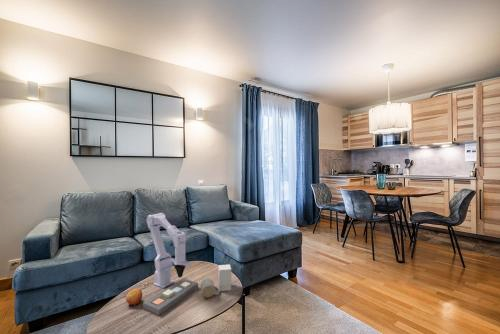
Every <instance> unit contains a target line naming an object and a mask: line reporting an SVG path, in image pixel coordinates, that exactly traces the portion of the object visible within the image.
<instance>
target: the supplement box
mask: <svg viewBox="0 0 500 334" xmlns="http://www.w3.org/2000/svg"><path fill="white" fill-rule="evenodd" d="M218 289H219V290H220V292H228V291H232V267H231V264H230V263H229V264H228V263H227V264H219V265H218Z"/></svg>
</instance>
